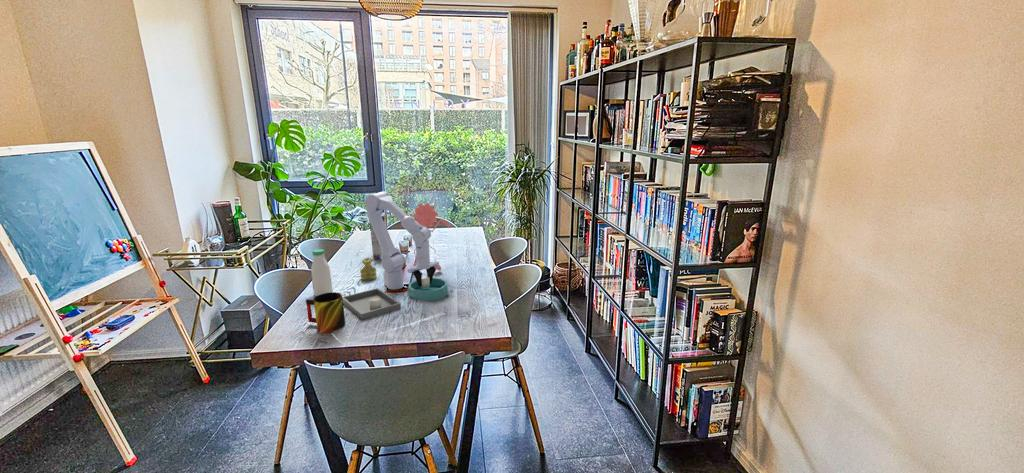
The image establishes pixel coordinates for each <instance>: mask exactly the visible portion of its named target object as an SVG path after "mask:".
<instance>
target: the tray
mask: <svg viewBox="0 0 1024 473" xmlns="http://www.w3.org/2000/svg"><path fill="white" fill-rule="evenodd" d="M342 298H343V306H346V307H347V308H348V309H349V310H350V311H351V312H352V313H353V314H355V315H356V316H357V317H358V318H360V320H362V321H363V320H367V319H369V318H372V317H377V316H379V315H383V314H387V313H390V312H393V311H397V310H401V309H402V303H401V302H400V301H398V299H395V298H394V297H392V296H391V295H390V294H388V293H386V292H385V291H383V290H382V289H380V288H379V287H376V288H373V289H369V290H365V291H360V292H357V293H353V294H348V295H345V296H342ZM371 298H380V299H381V308H379V309H375V310H372V311H371V310H370V304H369V300H370V299H371Z"/></svg>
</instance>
